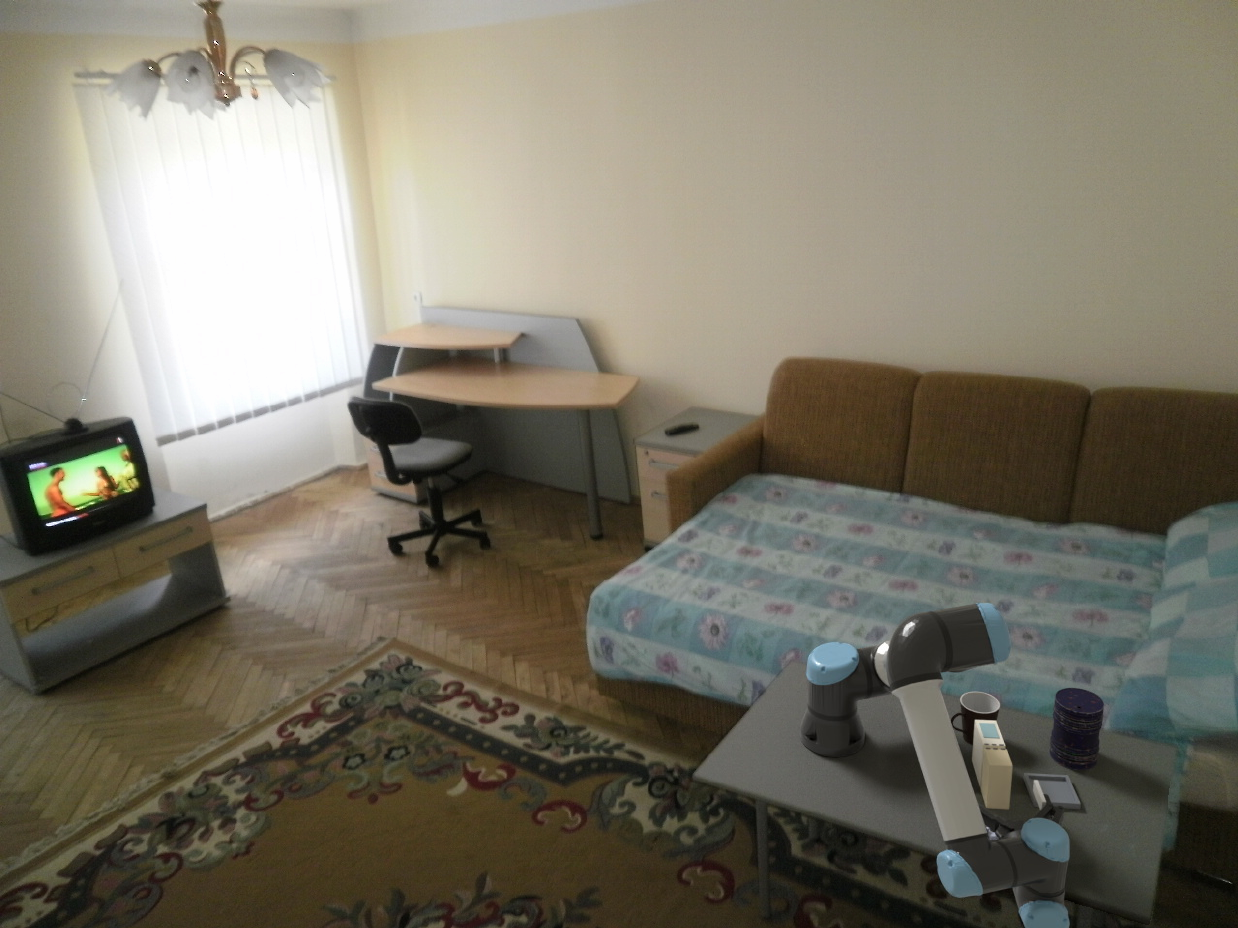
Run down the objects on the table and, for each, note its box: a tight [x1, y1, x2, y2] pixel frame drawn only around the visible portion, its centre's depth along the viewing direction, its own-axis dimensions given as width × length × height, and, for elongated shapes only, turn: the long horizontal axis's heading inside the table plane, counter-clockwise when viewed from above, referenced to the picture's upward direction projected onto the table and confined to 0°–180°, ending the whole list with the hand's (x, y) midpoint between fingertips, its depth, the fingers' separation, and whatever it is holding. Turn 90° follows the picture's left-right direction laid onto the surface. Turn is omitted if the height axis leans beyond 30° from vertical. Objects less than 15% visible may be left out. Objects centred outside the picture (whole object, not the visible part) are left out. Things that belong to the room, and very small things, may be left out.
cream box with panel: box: [971, 720, 1006, 788], centre depth 196 cm, size 4×9×11 cm, turn 170°
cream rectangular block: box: [980, 747, 1013, 810], centre depth 189 cm, size 4×6×11 cm
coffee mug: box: [950, 691, 1001, 746], centre depth 209 cm, size 12×9×10 cm
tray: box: [1023, 772, 1081, 810], centre depth 191 cm, size 9×9×1 cm
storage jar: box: [1049, 687, 1105, 772], centre depth 199 cm, size 10×10×15 cm
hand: (1000, 783), depth 186 cm, fingers open, 13 cm apart
